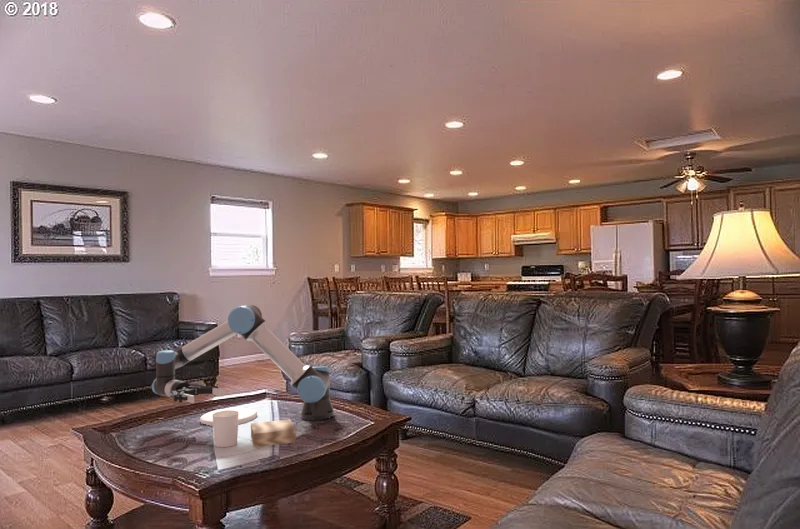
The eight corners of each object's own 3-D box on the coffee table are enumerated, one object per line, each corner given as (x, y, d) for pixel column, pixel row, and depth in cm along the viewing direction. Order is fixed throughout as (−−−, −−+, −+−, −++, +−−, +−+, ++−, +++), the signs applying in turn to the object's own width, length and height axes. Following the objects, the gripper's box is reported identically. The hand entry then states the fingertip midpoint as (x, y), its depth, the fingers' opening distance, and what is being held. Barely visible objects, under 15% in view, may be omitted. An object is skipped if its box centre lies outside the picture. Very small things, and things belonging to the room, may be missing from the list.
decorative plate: (231, 401, 270) (267, 407, 257) (231, 410, 270) (267, 416, 257) (187, 413, 249) (225, 420, 236) (188, 422, 249) (225, 430, 236)
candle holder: (231, 448, 208) (230, 417, 209) (207, 447, 210) (207, 416, 211) (243, 440, 218) (243, 410, 218) (221, 439, 220) (220, 409, 220)
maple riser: (290, 431, 230) (290, 419, 230) (295, 442, 215) (295, 429, 215) (251, 435, 225) (250, 423, 225) (253, 447, 210) (253, 433, 210)
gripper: (204, 393, 243) (234, 399, 230) (150, 404, 222) (180, 411, 210) (204, 376, 243) (234, 381, 230) (150, 385, 223) (180, 392, 210)
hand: (208, 396), depth 220 cm, fingers open, 13 cm apart
